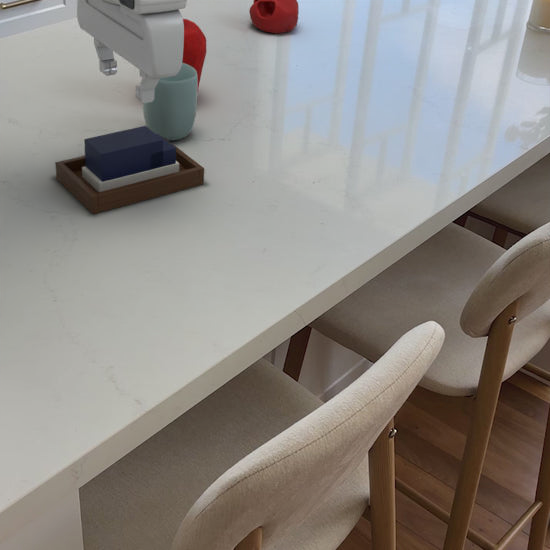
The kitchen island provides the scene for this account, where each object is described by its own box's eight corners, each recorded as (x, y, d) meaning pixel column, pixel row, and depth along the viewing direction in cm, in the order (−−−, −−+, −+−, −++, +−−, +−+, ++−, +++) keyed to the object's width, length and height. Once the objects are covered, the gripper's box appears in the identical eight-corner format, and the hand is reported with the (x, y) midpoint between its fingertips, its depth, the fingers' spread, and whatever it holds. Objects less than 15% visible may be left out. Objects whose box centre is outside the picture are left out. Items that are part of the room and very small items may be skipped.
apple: (125, 98, 142) (123, 14, 134) (168, 81, 149) (170, 1, 141) (173, 118, 137) (175, 33, 129) (216, 100, 144) (220, 18, 136)
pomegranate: (285, 18, 181) (289, -29, 176) (306, 34, 174) (311, -13, 168) (240, 21, 177) (243, -27, 172) (259, 38, 170) (263, -11, 165)
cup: (204, 140, 132) (207, 76, 126) (158, 150, 128) (158, 85, 122) (179, 119, 137) (180, 57, 131) (133, 129, 133) (132, 65, 127)
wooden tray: (93, 214, 112) (92, 197, 111) (56, 178, 119) (55, 162, 117) (203, 184, 121) (204, 168, 119) (163, 152, 127) (164, 137, 126)
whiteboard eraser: (99, 193, 114) (98, 155, 111) (81, 177, 118) (80, 139, 114) (179, 173, 121) (180, 136, 118) (160, 157, 124) (160, 121, 121)
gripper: (62, -46, 109) (66, 61, 117) (146, 4, 96) (144, 121, 104) (108, -50, 112) (109, 55, 120) (195, -2, 100) (189, 112, 107)
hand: (126, 86), depth 112 cm, fingers open, 8 cm apart
